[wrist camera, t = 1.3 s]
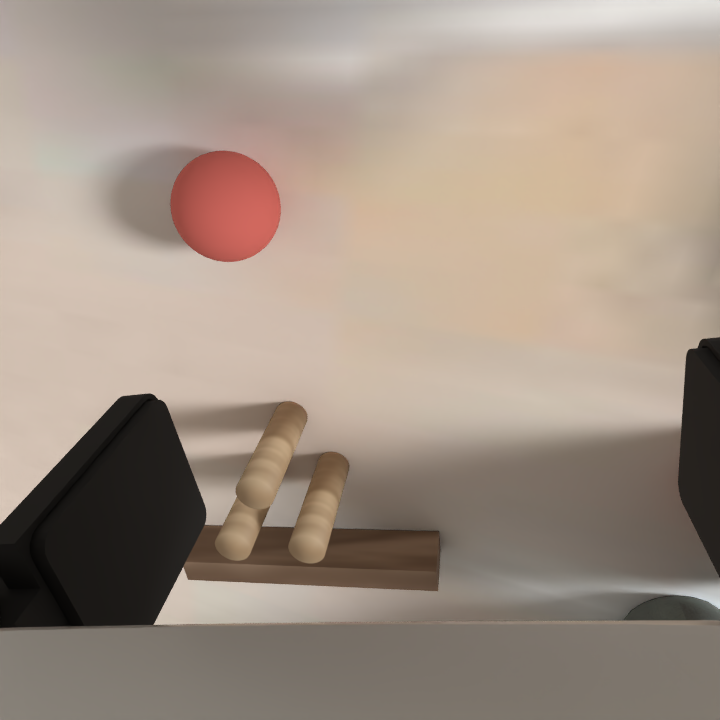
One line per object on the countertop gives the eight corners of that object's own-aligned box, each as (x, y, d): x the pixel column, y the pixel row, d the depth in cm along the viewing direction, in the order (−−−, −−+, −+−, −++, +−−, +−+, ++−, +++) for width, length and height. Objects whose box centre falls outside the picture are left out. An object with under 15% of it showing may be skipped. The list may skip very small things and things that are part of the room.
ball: (185, 147, 35) (136, 168, 30) (282, 137, 34) (248, 157, 29) (209, 246, 38) (168, 280, 33) (300, 239, 37) (272, 273, 32)
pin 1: (252, 452, 46) (211, 533, 38) (282, 452, 45) (246, 534, 38) (259, 476, 47) (219, 560, 40) (288, 476, 46) (253, 561, 39)
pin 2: (315, 451, 45) (285, 535, 37) (346, 452, 44) (322, 536, 37) (320, 477, 46) (291, 562, 39) (351, 477, 45) (327, 564, 38)
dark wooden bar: (201, 525, 51) (181, 561, 47) (439, 531, 47) (436, 571, 43) (207, 542, 52) (188, 579, 48) (440, 550, 48) (438, 591, 44)
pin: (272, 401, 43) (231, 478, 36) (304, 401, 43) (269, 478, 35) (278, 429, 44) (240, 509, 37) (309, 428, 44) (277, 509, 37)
